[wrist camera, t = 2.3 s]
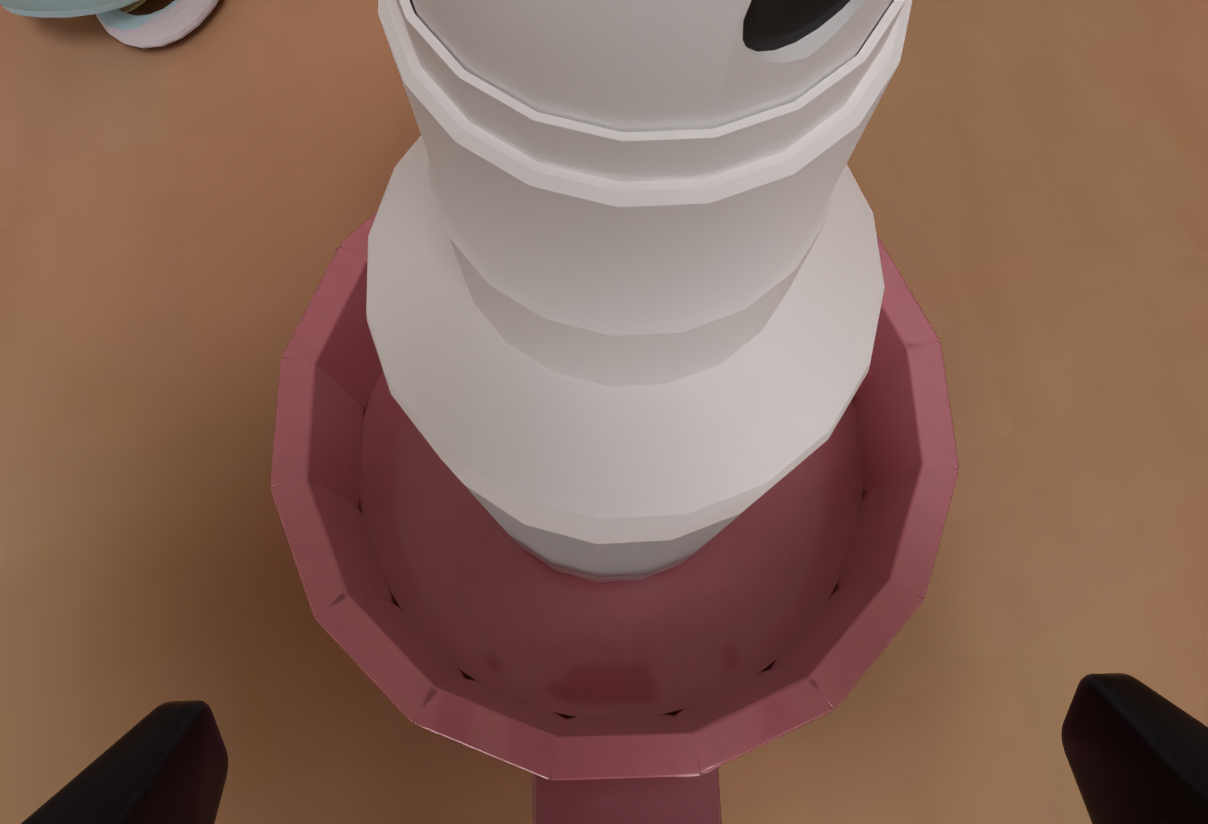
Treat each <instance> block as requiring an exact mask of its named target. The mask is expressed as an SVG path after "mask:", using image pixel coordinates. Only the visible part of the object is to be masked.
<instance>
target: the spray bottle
mask: <svg viewBox="0 0 1208 824" xmlns="http://www.w3.org/2000/svg"><path fill="white" fill-rule="evenodd" d="M911 5H912V0H378V15H379V18H380V20H381V23H382V26H383V29H384V32H385V34H386V37H387V40H388V43H389V46H390V49H391V51H392V54H393V57H394V60H395V63H396V65H397V68H398V71H399V74H400V77H401V80H402V82H403V85H404V88H405V91H406V94H407V96H408V99H409V102H410V105H411V108H412V110H413V113H414V116H415V119H416V122H417V125H418V127H419V130H420V133H421V136H420V137H419V138H418V139H417V140H416V142H415V143H414V144H413V145H412V147H411V148H410V149H409V150H408V151H407V153H406V154H405V155H404V156H403V158H402V159H401V160H400V161H399V162H398V164H397V165H396V166H395V167H394V170H393V173H392V175H391V178H390V181H389V183H388V186H387V188H386V191H385V194H384V196H383V199H382V201H381V204H380V207H379V209H378V212H377V214H376V217H375V220H374V222H373V225H372V227H371V230H370V233H369V235H368V263H367V298H366V317H367V323H368V326H369V329H370V332H371V335H372V338H373V341H374V344H375V347H376V350H377V353H378V356H379V359H380V362H381V365H382V369H383V372H384V375H385V378H386V381H387V384H388V387H389V390H390V393H391V395H392V396H393V397H394V399H395V400H396V401H397V403H398V404H399V405H400V407H401V408H402V409H403V410H404V412H405V413H406V414H407V416H408V417H409V418H410V420H411V421H412V422H413V423H414V425H415V426H416V427H417V429H418V430H419V431H420V432H421V434H422V435H423V436H424V438H425V439H426V440H427V442H428V443H429V444H430V445H431V447H432V448H433V449H434V451H435V452H436V453H437V455H438V456H439V457H440V458H441V460H442V461H443V462H444V463H445V464H446V465H447V466H448V467H449V468H450V470H451V471H452V472H453V473H454V474H455V475H456V476H457V477H458V479H459V480H460V481H461V482H462V483H463V484H464V485H465V486H466V487H467V489H468V490H469V491H470V492H471V493H472V494H473V495H474V496H475V498H476V499H477V500H478V501H479V502H480V503H481V504H482V505H483V506H484V508H485V509H486V510H487V511H488V512H489V513H490V514H491V515H492V517H493V518H494V519H495V520H496V521H497V522H498V523H499V524H500V525H501V527H502V528H503V529H504V530H505V531H506V532H507V533H508V534H509V535H510V537H511V538H512V539H513V540H514V541H515V542H516V543H517V544H518V546H519V547H521V548H522V549H524V550H525V551H527V552H528V553H530V554H531V555H533V556H534V557H536V558H537V559H539V560H540V561H542V562H543V563H545V564H546V565H548V566H549V567H551V568H552V569H554V570H555V571H558V572H562V573H565V574H569V575H572V576H576V577H580V578H583V579H587V580H591V581H594V582H614V581H633V580H642V579H645V578H648V577H650V576H653V575H655V574H658V573H660V572H663V571H665V570H668V569H670V568H673V567H676V566H678V565H681V564H682V563H683V562H685V561H686V560H687V559H688V558H689V557H691V556H692V555H693V554H694V553H695V552H696V551H698V550H699V549H700V548H701V547H702V546H704V545H705V544H706V543H707V542H708V541H710V540H711V539H712V538H713V537H714V536H716V535H717V534H718V533H719V532H720V531H721V530H723V529H724V528H725V527H726V526H727V525H728V524H730V523H731V522H732V521H733V520H734V519H735V518H737V517H738V516H739V515H740V514H741V513H742V512H744V511H745V510H746V509H747V508H748V507H750V506H751V505H752V504H753V503H754V502H755V501H757V500H758V499H759V498H760V497H761V496H762V495H764V494H765V493H766V492H767V491H768V490H769V489H771V488H772V487H773V486H774V485H775V484H776V483H778V482H779V481H780V480H781V479H782V478H784V477H785V476H786V475H787V474H788V473H789V472H791V471H792V470H793V469H794V468H795V467H796V466H798V465H799V464H800V463H801V462H802V461H803V460H805V459H806V458H807V457H808V456H809V455H810V454H812V453H813V452H814V451H815V450H816V449H818V448H819V447H820V446H821V445H822V444H823V443H825V442H826V441H827V440H828V439H829V437H830V436H831V434H832V432H833V431H834V429H835V427H836V425H837V424H838V422H839V420H840V419H841V417H842V415H843V414H844V412H845V410H846V409H847V407H848V405H849V403H850V402H851V400H852V398H853V397H854V395H855V393H856V392H857V390H858V388H859V387H860V385H861V383H862V381H863V380H864V378H865V376H866V375H867V373H868V371H869V367H870V362H871V356H872V351H873V346H874V341H875V335H876V330H877V325H878V319H879V314H880V309H881V304H882V298H883V293H884V288H885V286H884V280H883V273H882V267H881V261H880V254H879V248H878V242H877V235H876V229H875V222H874V216H873V213H872V211H871V209H870V207H869V205H868V203H867V201H866V199H865V197H864V195H863V193H862V192H861V190H860V188H859V186H858V184H857V182H856V180H855V178H854V176H853V174H852V173H851V171H850V169H849V167H848V165H847V162H848V160H849V158H850V156H851V154H852V152H853V150H854V149H855V147H856V145H857V143H858V141H859V139H860V137H861V135H862V133H863V131H864V130H865V128H866V126H867V124H868V122H869V120H870V118H871V116H872V114H873V112H874V111H875V109H876V107H877V105H878V103H879V101H880V99H881V97H882V95H883V93H884V92H885V90H886V88H887V86H888V84H889V82H890V80H891V78H892V76H893V74H894V72H895V71H896V69H897V67H898V65H899V63H900V59H901V54H902V49H903V44H904V39H905V34H906V29H907V24H908V19H909V14H910V9H911Z"/></svg>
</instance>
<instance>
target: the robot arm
mask: <svg viewBox="0 0 1208 824" xmlns="http://www.w3.org/2000/svg"><path fill="white" fill-rule="evenodd" d="M1062 743H1063V747H1064V751H1065V754H1066V756H1067V759H1068V762H1069V764H1070V767H1071V769H1072V772H1073V775H1074V777H1075V780H1076V782H1077V785H1078V788H1079V790H1080V793H1081V795H1082V798H1083V801H1084V803H1085V806H1086V808H1087V811H1088V814H1089V816H1090V819H1091V821H1092V824H1208V727H1206V726H1205V725H1204V724H1202V723H1201V722H1199V721H1198V720H1196V719H1195V718H1193V717H1192V716H1190V715H1189V714H1187V713H1186V712H1184V711H1183V710H1181V709H1180V708H1178V707H1177V706H1176V705H1174V704H1173V703H1171V702H1170V701H1168V700H1167V699H1165V698H1164V697H1162V696H1161V695H1159V694H1158V693H1156V692H1155V691H1153V690H1152V689H1151V688H1149V687H1148V686H1146V685H1145V684H1143V683H1142V682H1140V681H1139V680H1137V679H1135V678H1134V677H1132V676H1129V675H1127V674H1122V673H1108V674H1090V675H1086V676H1085V677H1084V678H1083V679H1081V681H1080V683H1079V685H1078V687H1077V690H1076V692H1075V695H1074V697H1073V700H1072V702H1071V705H1070V707H1069V710H1068V712H1067V715H1066V717H1065V720H1064V723H1063V726H1062ZM227 770H228V756H227V751H226V748H225V745H224V742H223V740H222V737H221V734H220V732H219V729H218V726H217V724H216V721H215V718H214V716H213V713H212V711H211V709H210V707H209V705H207V704H206V703H205V702H204V701H172V702H166V703H163V704H162V705H160V706H158V707H157V708H155V709H154V710H153V711H152V712H150V713H149V714H148V715H147V716H146V717H145V718H143V719H142V720H141V721H140V722H139V723H138V724H136V725H135V726H134V727H133V728H132V729H131V730H130V731H128V732H127V733H126V734H125V735H124V736H123V737H121V738H120V739H119V740H118V741H117V742H116V743H114V744H113V745H112V746H111V747H110V748H109V749H107V750H106V751H105V752H104V753H103V754H102V755H100V756H99V757H98V758H97V759H96V760H95V761H93V762H92V763H91V764H90V765H89V766H88V767H86V768H85V769H84V770H83V771H82V772H81V773H79V774H78V775H77V776H76V777H75V778H74V779H73V780H71V781H70V782H69V783H68V784H67V785H66V786H64V787H63V788H62V789H61V790H60V791H59V792H57V793H56V794H55V795H54V796H53V797H52V798H50V799H49V800H48V801H47V802H46V803H45V804H43V805H42V806H41V807H40V808H39V809H38V810H36V811H35V812H34V813H33V814H32V815H31V816H29V817H28V818H27V819H26V820H25V821H24V822H22V823H21V824H214V823H215V819H216V815H217V811H218V807H219V803H220V800H221V796H222V792H223V788H224V784H225V780H226V776H227Z"/></svg>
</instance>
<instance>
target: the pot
mask: <svg viewBox="0 0 1208 824" xmlns="http://www.w3.org/2000/svg"><path fill="white" fill-rule="evenodd" d="M377 212H378V211H377ZM377 212H376V213H375V214H373V215H372V216H371V217H370V218H369V219H368V220H367V221H365V222H364V223H363V224H362V225H361V226H360V227H359V228H357V229H356V230H355V231H354V232H353V233H352V234H351V235H349V236H348V237H347V238H346V239H345V240H344V241H343V242H341V243H340V247H339V248H338V249H337V250H336V252H335V254H334V256H333V258H332V260H331V262H330V264H329V266H328V268H327V269H326V271H325V273H324V275H323V277H322V279H321V281H320V283H319V285H318V287H317V289H316V291H315V293H314V295H313V296H312V298H311V300H310V302H309V304H308V306H307V308H306V310H305V312H304V314H303V316H302V318H301V320H300V322H299V323H298V325H297V327H296V329H295V331H294V333H293V335H292V337H291V339H290V341H289V343H288V345H287V347H286V349H285V350H284V352H283V358H282V359H281V362H280V374H279V386H278V398H277V410H276V422H275V434H274V446H273V458H272V470H271V482H270V484H271V487H272V488H271V493H272V496H273V499H274V502H275V505H276V508H277V511H278V514H279V517H280V520H281V523H282V526H283V529H284V532H285V534H286V537H287V540H288V543H289V546H290V549H291V552H292V555H293V558H294V561H295V564H296V567H297V570H298V573H299V575H300V578H301V581H302V584H303V587H304V590H305V593H306V596H307V599H308V602H309V605H310V608H311V611H312V614H313V615H314V616H315V620H316V621H317V622H318V623H319V624H320V625H321V626H322V627H323V628H324V630H325V631H326V632H327V633H328V634H329V635H330V636H331V637H332V638H333V639H334V640H335V641H336V642H337V643H338V645H339V646H340V647H341V648H342V649H343V650H344V651H345V652H346V653H347V654H348V655H349V656H350V657H351V658H352V659H353V661H354V662H355V663H356V664H357V665H358V666H359V667H360V668H361V669H362V670H363V671H364V672H365V673H366V674H367V676H368V677H369V678H370V679H371V680H372V681H373V682H374V683H375V684H376V685H377V686H378V687H379V688H380V689H381V691H382V692H383V693H384V694H385V695H386V696H387V697H388V698H389V699H390V700H391V701H392V702H393V703H394V704H395V706H396V707H397V708H398V709H399V710H400V711H401V712H402V713H403V714H404V715H405V716H406V717H407V718H408V719H409V721H410V722H414V724H415V725H417V726H420V727H422V728H424V729H427V730H429V731H432V732H434V733H436V734H439V735H441V736H444V737H446V738H448V739H451V740H453V741H456V742H458V743H460V744H463V745H465V746H468V747H470V748H472V749H475V750H477V751H480V752H482V753H484V754H487V755H489V756H492V757H494V758H496V759H499V760H501V761H504V762H506V763H508V764H511V765H513V766H516V767H518V768H520V769H523V770H525V771H528V772H530V773H532V774H533V824H722V823H721V806H720V790H719V774H718V767H720V766H722V765H724V764H726V763H728V762H730V761H732V760H734V759H736V758H738V757H741V756H743V755H745V754H747V753H749V752H751V751H753V750H755V749H757V748H759V747H761V746H763V745H765V744H767V743H769V742H771V741H773V740H775V739H777V738H779V737H781V736H783V735H785V734H787V733H789V732H791V731H793V730H795V729H797V728H799V727H801V726H803V725H805V724H807V723H809V722H811V721H813V720H815V719H817V718H820V717H822V716H824V715H826V714H828V713H829V712H830V711H831V710H832V709H836V708H837V707H838V705H839V704H840V703H841V702H842V701H843V699H844V698H845V697H846V696H847V694H848V693H849V692H850V691H851V689H852V688H853V687H854V686H855V685H856V683H857V682H858V681H859V680H860V678H861V677H862V676H863V675H864V674H865V672H866V671H867V670H868V669H869V667H870V666H871V665H872V664H873V663H874V661H875V660H876V659H877V658H878V656H879V655H880V654H881V653H882V651H883V650H884V649H885V648H886V647H887V645H888V644H889V643H890V642H891V640H892V639H893V638H894V637H895V636H896V634H897V633H898V632H899V631H900V629H901V628H902V627H903V626H904V625H905V623H906V622H907V621H908V620H909V618H910V617H911V616H912V615H913V614H914V612H915V611H916V610H917V609H918V607H919V606H920V605H921V604H922V602H923V600H922V599H924V598H925V595H926V591H927V588H928V584H929V580H930V576H931V573H932V569H933V565H934V561H935V558H936V554H937V550H938V546H939V543H940V539H941V535H942V532H943V528H944V524H945V520H946V517H947V513H948V509H949V505H950V502H951V498H952V494H953V490H954V487H955V483H956V479H957V476H958V470H957V469H959V463H958V457H957V450H956V443H955V436H954V430H953V423H952V416H951V409H950V403H949V396H948V389H947V382H946V376H945V369H944V362H943V355H942V349H941V343H940V342H939V338H938V336H937V335H936V333H935V331H934V330H933V328H932V326H931V325H930V323H929V321H928V320H927V318H926V316H925V314H924V313H923V311H922V309H921V308H920V306H919V304H918V303H917V301H916V299H915V298H914V296H913V294H912V293H911V291H910V289H909V287H908V286H907V284H906V282H905V281H904V279H903V277H902V276H901V274H900V272H899V271H898V269H897V267H896V266H895V264H894V262H893V260H892V259H891V257H890V255H889V254H888V252H887V250H886V249H885V247H884V245H883V244H882V242H881V240H880V239H879V237H878V235H877V234H876V235H877V242H878V248H879V254H880V261H881V267H882V273H883V280H884V286H885V288H884V293H883V298H882V304H881V309H880V314H879V319H878V325H877V330H876V335H875V341H874V346H873V351H872V356H871V362H870V367H869V371H868V373H867V375H866V376H865V378H864V380H863V381H862V383H861V385H860V387H859V388H858V390H857V392H856V393H855V395H854V397H853V398H852V400H851V402H850V403H849V405H848V407H847V409H846V410H845V412H844V414H843V415H842V417H841V419H840V420H839V422H838V424H837V425H836V427H835V429H834V431H833V432H832V434H831V436H830V437H829V439H828V440H827V441H826V442H825V443H823V444H822V445H821V446H820V447H819V448H818V449H816V450H815V451H814V452H813V453H812V454H810V455H809V456H808V457H807V458H806V459H805V460H803V461H802V462H801V463H800V464H799V465H798V466H796V467H795V468H794V469H793V470H792V471H791V472H789V473H788V474H787V475H786V476H785V477H784V478H782V479H781V480H780V481H779V482H778V483H776V484H775V485H774V486H773V487H772V488H771V489H769V490H768V491H767V492H766V493H765V494H764V495H762V496H761V497H760V498H759V499H758V500H757V501H755V502H754V503H753V504H752V505H751V506H750V507H748V508H747V509H746V510H745V511H744V512H742V513H741V514H740V515H739V516H738V517H737V518H735V519H734V520H733V521H732V522H731V523H730V524H728V525H727V526H726V527H725V528H724V529H723V530H721V531H720V532H719V533H718V534H717V535H716V536H714V537H713V538H712V539H711V540H710V541H708V542H707V543H706V544H705V545H704V546H702V547H701V548H700V549H699V550H698V551H696V552H695V553H694V554H693V555H692V556H691V557H689V558H688V559H687V560H686V561H685V562H683V563H682V564H681V565H678V566H676V567H673V568H670V569H668V570H665V571H663V572H660V573H658V574H655V575H653V576H650V577H648V578H645V579H642V580H633V581H614V582H594V581H591V580H587V579H583V578H580V577H576V576H572V575H569V574H565V573H562V572H558V571H555V570H554V569H552V568H551V567H549V566H548V565H546V564H545V563H543V562H542V561H540V560H539V559H537V558H536V557H534V556H533V555H531V554H530V553H528V552H527V551H525V550H524V549H522V548H521V547H519V546H518V544H517V543H516V542H515V541H514V540H513V539H512V538H511V537H510V535H509V534H508V533H507V532H506V531H505V530H504V529H503V528H502V527H501V525H500V524H499V523H498V522H497V521H496V520H495V519H494V518H493V517H492V515H491V514H490V513H489V512H488V511H487V510H486V509H485V508H484V506H483V505H482V504H481V503H480V502H479V501H478V500H477V499H476V498H475V496H474V495H473V494H472V493H471V492H470V491H469V490H468V489H467V487H466V486H465V485H464V484H463V483H462V482H461V481H460V480H459V479H458V477H457V476H456V475H455V474H454V473H453V472H452V471H451V470H450V468H449V467H448V466H447V465H446V464H445V463H444V462H443V461H442V460H441V458H440V457H439V456H438V455H437V453H436V452H435V451H434V449H433V448H432V447H431V445H430V444H429V443H428V442H427V440H426V439H425V438H424V436H423V435H422V434H421V432H420V431H419V430H418V429H417V427H416V426H415V425H414V423H413V422H412V421H411V420H410V418H409V417H408V416H407V414H406V413H405V412H404V410H403V409H402V408H401V407H400V405H399V404H398V403H397V401H396V400H395V399H394V397H393V396H392V395H391V393H390V390H389V387H388V384H387V381H386V378H385V375H384V372H383V369H382V365H381V362H380V359H379V356H378V353H377V350H376V347H375V344H374V341H373V338H372V335H371V332H370V329H369V326H368V323H367V317H366V298H367V263H368V235H369V233H370V230H371V227H372V225H373V222H374V220H375V217H376V214H377ZM365 410H366V412H365ZM360 504H361V508H360ZM834 588H835V590H834ZM833 590H834V591H833ZM394 599H395V600H396V602H397V603H396V602H395V600H394ZM769 665H770V666H769ZM768 666H769V667H768ZM767 667H768V668H767ZM765 668H767V669H765ZM764 669H765V670H764ZM466 674H467V675H468V676H470V677H471V678H470V677H468V676H467V675H466ZM472 678H473V679H472ZM675 711H678V712H675ZM671 712H675V713H671ZM667 713H670V714H667ZM561 714H562V715H561ZM563 715H567V716H572V717H566V716H563Z"/></svg>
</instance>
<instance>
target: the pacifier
mask: <svg viewBox="0 0 1208 824" xmlns="http://www.w3.org/2000/svg"><path fill="white" fill-rule="evenodd" d="M145 1H147V0H0V4H1V5H2V6H3V7H4V8H5V9H6V10H8V11H10V12H12V13H14V14H17V15H23V16H31V17H39V18H70V17H77V16H85V15H93V14H96V16H97V19H98V20H99V21H100V23H101V24H102V25H103V27H104V28H105V30H106V31H107V32H108V33H109V34H110V35H112V36H113V37H115V38H116V39H117V40H119V41H120V42H122V43H124V44H127V45H131V46H135V47H139V48H153V47H162V46H165V45H167V44H170V43H172V42H175V41H177V40H179V39H182V38H183V37H184V36H186V35H187V34H188V33H190V32H191V31H193V30H194V29H195V28H197V27H198V26H199V25H200V24H201V23H202V22H203V21H204V20H205V18H206V17H207V16H208V15H209V14H210V13H211V12H212V10H213V9H214V8H215V7H216V5H217V3H218V1H219V0H175V1H173V2H172V3H171V4H169V5H168V6H166V7H165V8H164V9H161V10H159V11H157V12H154V13H152V14H148V15H138V16H136V15H131V14H127V12H130V11H132V10H134V9H135V8H137V7H139V6H140V5H142V4H143V3H144V2H145Z"/></svg>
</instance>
